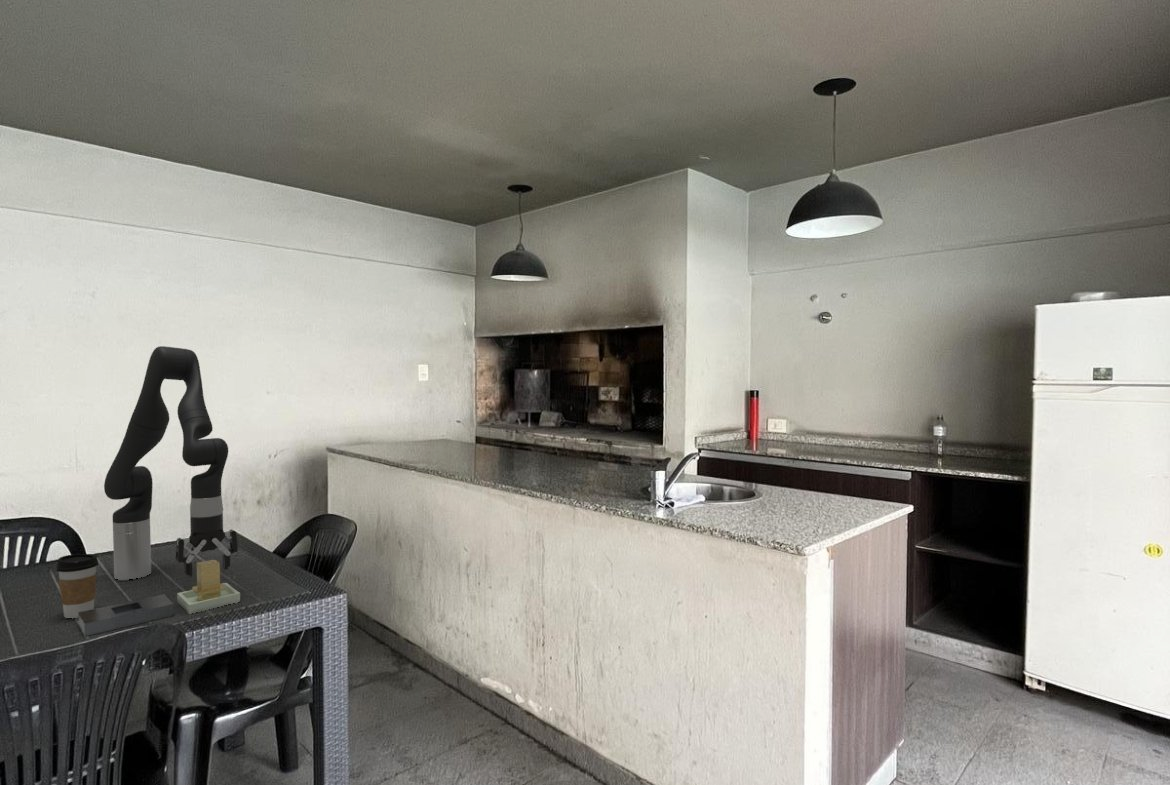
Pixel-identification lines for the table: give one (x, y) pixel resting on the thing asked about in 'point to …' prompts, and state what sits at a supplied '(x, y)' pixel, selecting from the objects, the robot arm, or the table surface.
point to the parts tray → (193, 605)
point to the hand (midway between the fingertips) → (207, 572)
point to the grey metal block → (125, 614)
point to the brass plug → (208, 580)
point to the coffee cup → (77, 583)
